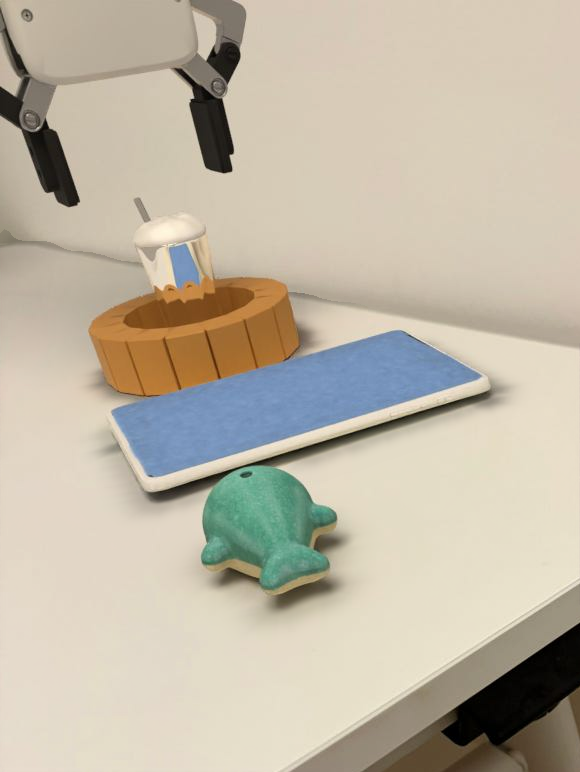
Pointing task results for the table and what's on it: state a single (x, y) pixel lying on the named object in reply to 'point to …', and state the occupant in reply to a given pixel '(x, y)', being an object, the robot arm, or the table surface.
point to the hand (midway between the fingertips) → (146, 186)
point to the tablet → (286, 407)
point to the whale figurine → (265, 528)
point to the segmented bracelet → (195, 339)
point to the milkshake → (178, 266)
